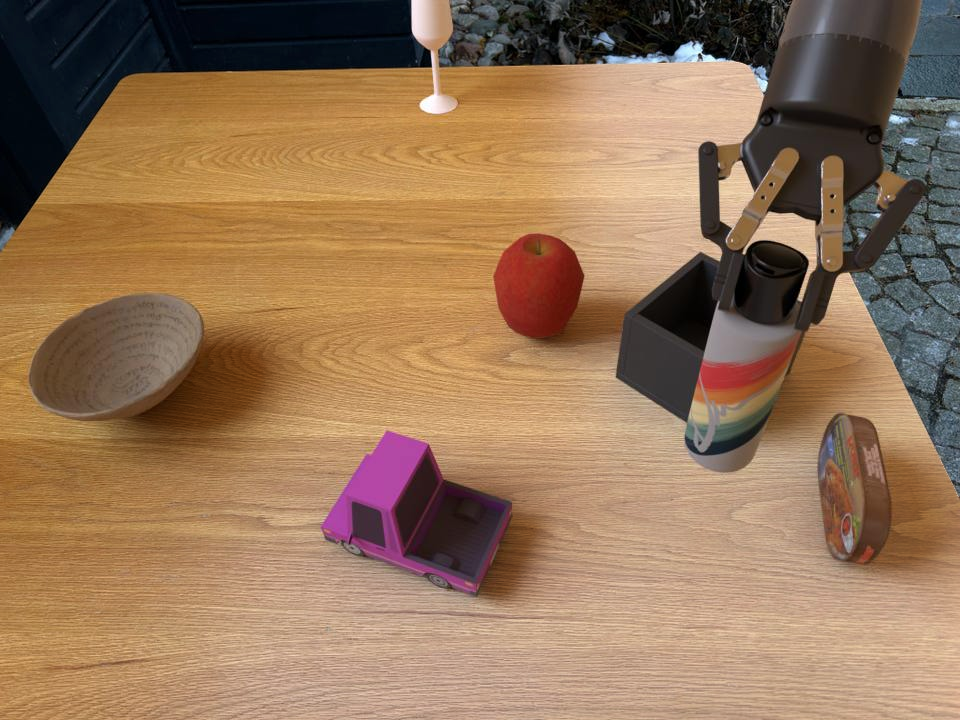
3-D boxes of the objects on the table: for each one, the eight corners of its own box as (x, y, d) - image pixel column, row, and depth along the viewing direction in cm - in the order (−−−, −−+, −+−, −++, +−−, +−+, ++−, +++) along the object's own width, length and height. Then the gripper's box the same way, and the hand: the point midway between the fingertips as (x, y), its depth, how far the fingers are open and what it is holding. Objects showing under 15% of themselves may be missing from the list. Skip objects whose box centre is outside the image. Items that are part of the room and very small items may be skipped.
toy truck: (376, 468, 78) (361, 407, 71) (515, 515, 73) (515, 455, 66) (323, 555, 71) (301, 497, 64) (473, 612, 67) (467, 557, 59)
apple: (502, 362, 87) (500, 271, 77) (488, 305, 94) (485, 215, 84) (588, 350, 88) (598, 258, 78) (568, 295, 95) (574, 204, 85)
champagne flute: (465, 102, 130) (457, -46, 113) (438, 117, 127) (425, -33, 110) (439, 91, 134) (427, -55, 116) (411, 105, 130) (395, -43, 113)
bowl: (58, 363, 90) (26, 315, 84) (212, 320, 94) (192, 272, 88) (59, 482, 78) (22, 435, 72) (235, 426, 82) (214, 378, 77)
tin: (813, 446, 78) (839, 393, 72) (845, 450, 77) (874, 397, 71) (829, 578, 68) (860, 529, 62) (866, 584, 67) (901, 536, 61)
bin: (789, 373, 85) (815, 308, 77) (721, 445, 78) (742, 382, 71) (685, 315, 92) (700, 251, 85) (615, 377, 85) (624, 313, 78)
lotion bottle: (668, 446, 61) (713, 254, 46) (708, 407, 64) (762, 214, 49) (729, 487, 58) (796, 296, 44) (768, 444, 61) (844, 250, 46)
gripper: (724, 13, 45) (647, 288, 46) (988, 47, 41) (894, 349, 42) (724, 60, 52) (656, 298, 54) (948, 94, 48) (869, 350, 49)
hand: (762, 319), depth 48 cm, fingers closed on lotion bottle, 4 cm apart
